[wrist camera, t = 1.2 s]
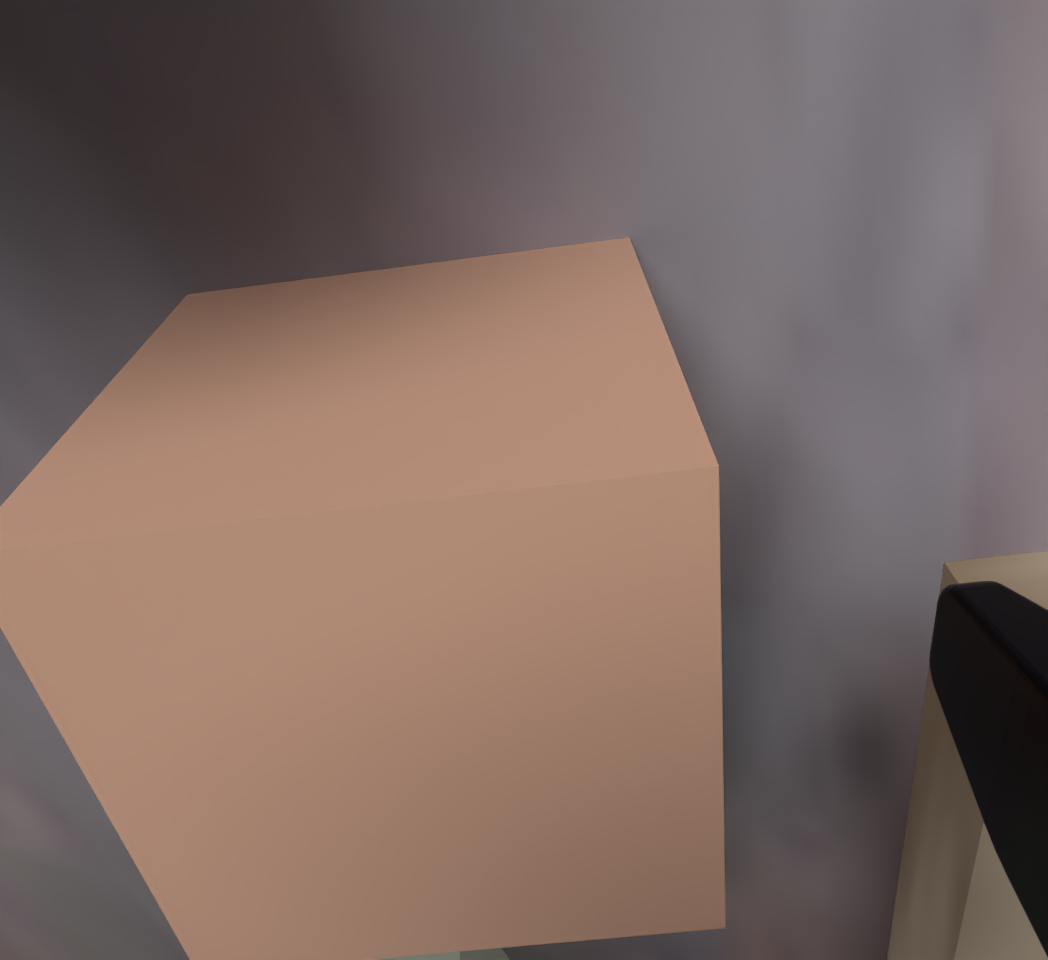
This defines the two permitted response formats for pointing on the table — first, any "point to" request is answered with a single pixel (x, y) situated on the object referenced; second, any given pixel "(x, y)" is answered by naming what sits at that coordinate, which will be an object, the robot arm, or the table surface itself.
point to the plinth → (959, 826)
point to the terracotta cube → (392, 612)
